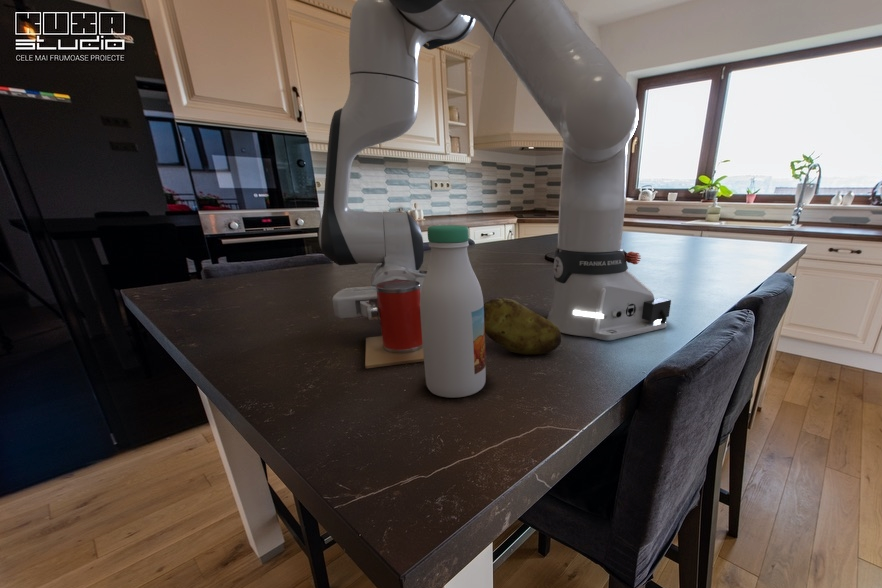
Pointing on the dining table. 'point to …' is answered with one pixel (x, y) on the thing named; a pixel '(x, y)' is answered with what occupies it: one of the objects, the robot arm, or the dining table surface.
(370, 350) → the cork mat
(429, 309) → the milk bottle
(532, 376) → the dining table surface
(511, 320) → the potato
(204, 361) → the dining table surface
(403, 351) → the tomato tin
